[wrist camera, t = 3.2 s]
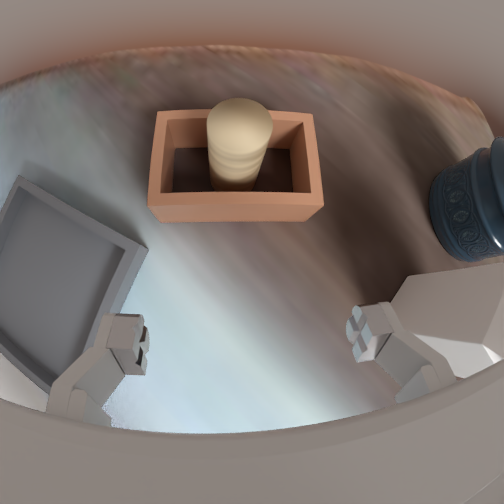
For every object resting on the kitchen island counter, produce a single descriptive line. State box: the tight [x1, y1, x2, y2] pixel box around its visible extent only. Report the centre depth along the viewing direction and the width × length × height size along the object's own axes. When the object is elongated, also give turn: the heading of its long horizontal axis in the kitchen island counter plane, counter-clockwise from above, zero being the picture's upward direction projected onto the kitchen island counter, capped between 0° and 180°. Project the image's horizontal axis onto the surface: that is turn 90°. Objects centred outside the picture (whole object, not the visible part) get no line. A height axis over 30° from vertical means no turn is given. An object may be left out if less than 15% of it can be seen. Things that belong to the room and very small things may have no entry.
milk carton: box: [390, 262, 504, 378], centre depth 18 cm, size 7×7×19 cm
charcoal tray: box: [0, 175, 149, 395], centre depth 22 cm, size 18×18×3 cm
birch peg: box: [207, 98, 273, 192], centre depth 23 cm, size 4×4×10 cm
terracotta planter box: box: [147, 109, 324, 223], centre depth 25 cm, size 9×14×6 cm, turn 92°
